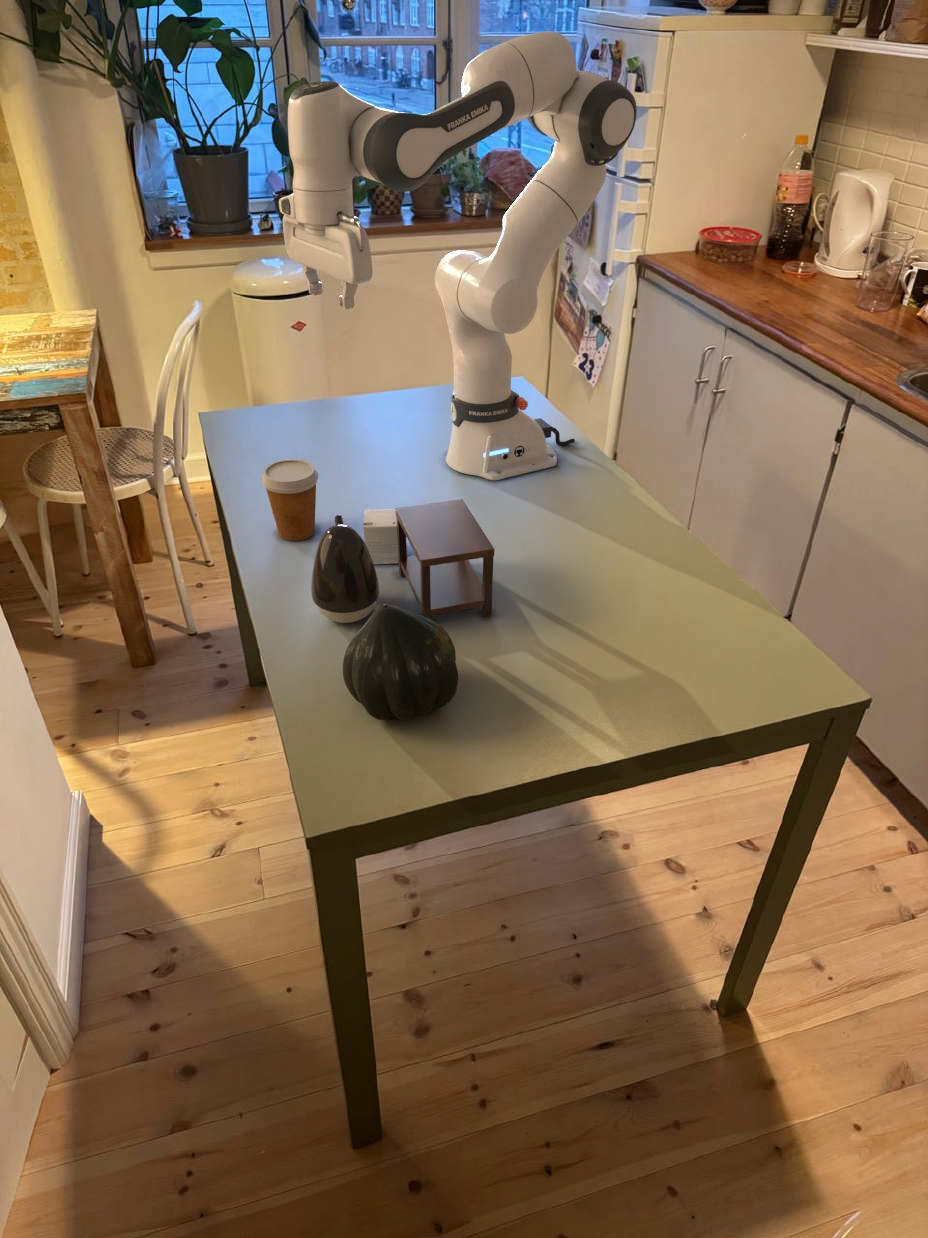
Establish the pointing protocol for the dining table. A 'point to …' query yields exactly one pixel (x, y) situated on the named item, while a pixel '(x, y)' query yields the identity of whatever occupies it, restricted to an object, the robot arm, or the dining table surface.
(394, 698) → the squash
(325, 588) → the dark brown egg timer
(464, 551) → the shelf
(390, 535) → the product carton
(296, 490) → the disposable coffee cup
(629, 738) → the dining table surface
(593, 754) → the dining table surface
